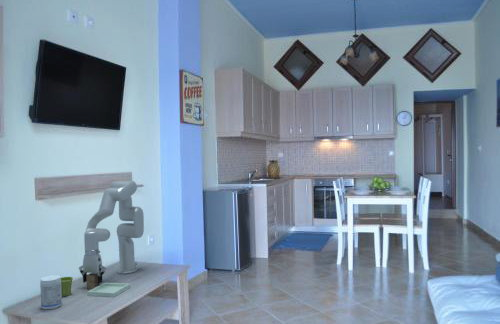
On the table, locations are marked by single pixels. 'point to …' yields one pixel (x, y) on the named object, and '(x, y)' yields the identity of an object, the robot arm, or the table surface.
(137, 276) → the table surface
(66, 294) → the plant pot
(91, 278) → the walnut block
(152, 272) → the table surface
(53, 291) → the supplement tub
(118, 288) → the sage tray
